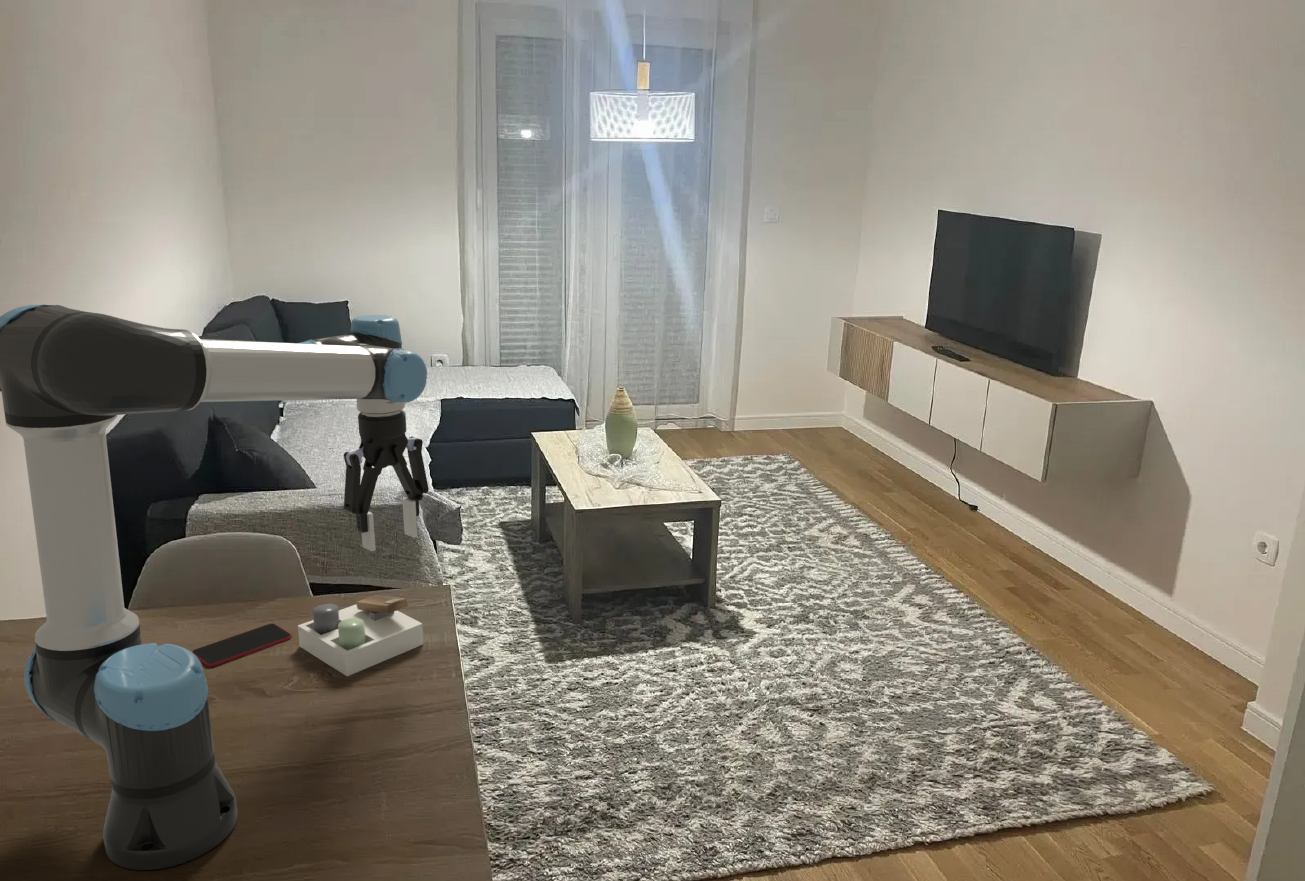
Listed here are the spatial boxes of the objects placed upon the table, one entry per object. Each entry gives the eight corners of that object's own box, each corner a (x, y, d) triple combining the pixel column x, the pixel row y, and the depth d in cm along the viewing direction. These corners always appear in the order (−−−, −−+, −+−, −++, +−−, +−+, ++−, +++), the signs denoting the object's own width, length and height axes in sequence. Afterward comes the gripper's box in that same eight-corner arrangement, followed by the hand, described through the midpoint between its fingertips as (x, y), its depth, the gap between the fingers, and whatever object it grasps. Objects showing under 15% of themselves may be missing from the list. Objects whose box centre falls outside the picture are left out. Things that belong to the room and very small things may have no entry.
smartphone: (293, 635, 173) (209, 665, 162) (293, 640, 173) (209, 670, 163) (272, 622, 178) (189, 651, 167) (273, 626, 178) (190, 655, 167)
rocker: (388, 613, 167) (386, 605, 167) (357, 609, 174) (355, 601, 174) (408, 606, 170) (406, 597, 170) (377, 602, 177) (375, 594, 177)
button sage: (348, 653, 162) (346, 632, 160) (334, 645, 164) (332, 624, 163) (370, 644, 165) (369, 623, 163) (356, 636, 167) (355, 615, 166)
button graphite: (322, 637, 167) (320, 617, 166) (309, 630, 169) (307, 609, 168) (344, 629, 170) (343, 608, 169) (331, 621, 172) (329, 601, 171)
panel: (347, 676, 161) (344, 647, 159) (299, 646, 170) (297, 618, 169) (423, 644, 171) (421, 616, 170) (374, 617, 181) (372, 591, 179)
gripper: (337, 427, 150) (348, 565, 156) (446, 404, 165) (453, 531, 171) (311, 418, 155) (323, 553, 161) (420, 396, 169) (427, 520, 176)
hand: (390, 541), depth 166 cm, fingers open, 8 cm apart
